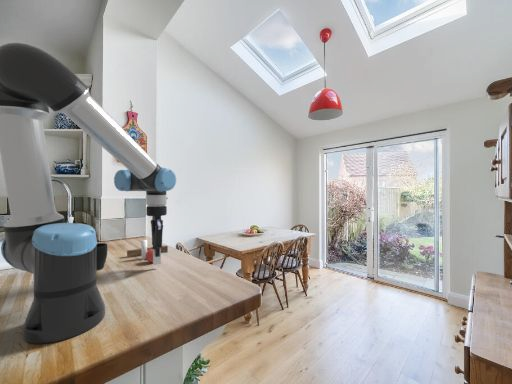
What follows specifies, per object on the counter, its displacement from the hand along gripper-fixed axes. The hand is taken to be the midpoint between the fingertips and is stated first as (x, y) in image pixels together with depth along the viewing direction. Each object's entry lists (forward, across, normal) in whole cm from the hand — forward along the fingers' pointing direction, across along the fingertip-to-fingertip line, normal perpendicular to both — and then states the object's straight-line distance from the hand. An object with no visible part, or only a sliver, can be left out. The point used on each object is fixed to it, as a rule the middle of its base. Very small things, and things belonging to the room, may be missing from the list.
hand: (156, 263), depth 95 cm
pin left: (+2, +17, +2) cm, 18 cm away
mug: (+2, +15, +21) cm, 26 cm away
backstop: (+2, +24, 0) cm, 25 cm away
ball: (-1, +10, 0) cm, 10 cm away
